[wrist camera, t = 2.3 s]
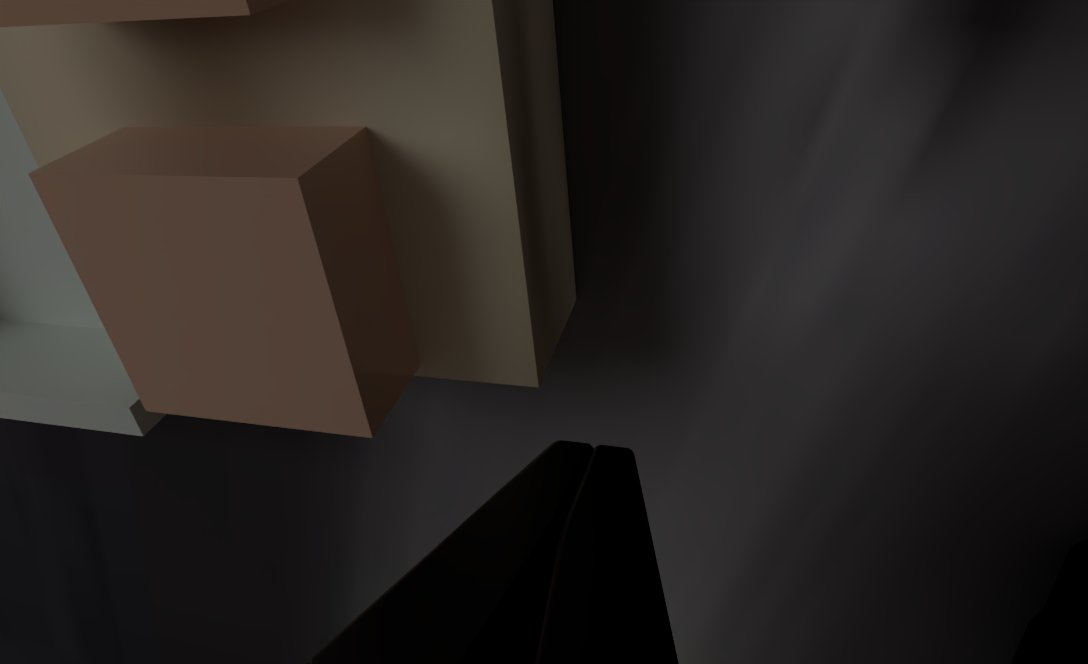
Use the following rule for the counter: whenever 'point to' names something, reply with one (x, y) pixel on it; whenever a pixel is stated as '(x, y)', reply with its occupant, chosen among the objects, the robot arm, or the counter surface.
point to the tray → (52, 317)
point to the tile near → (120, 10)
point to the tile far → (241, 271)
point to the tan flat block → (393, 130)
